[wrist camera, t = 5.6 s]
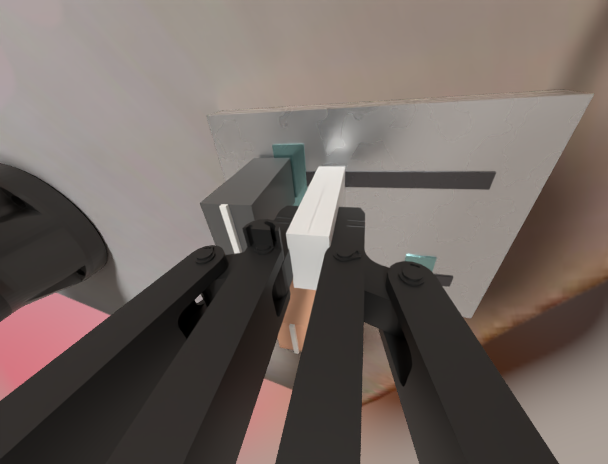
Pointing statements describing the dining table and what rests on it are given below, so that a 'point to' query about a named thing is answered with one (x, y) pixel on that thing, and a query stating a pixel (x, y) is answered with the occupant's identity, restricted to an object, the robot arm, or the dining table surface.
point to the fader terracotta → (296, 319)
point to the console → (421, 170)
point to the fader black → (248, 200)
